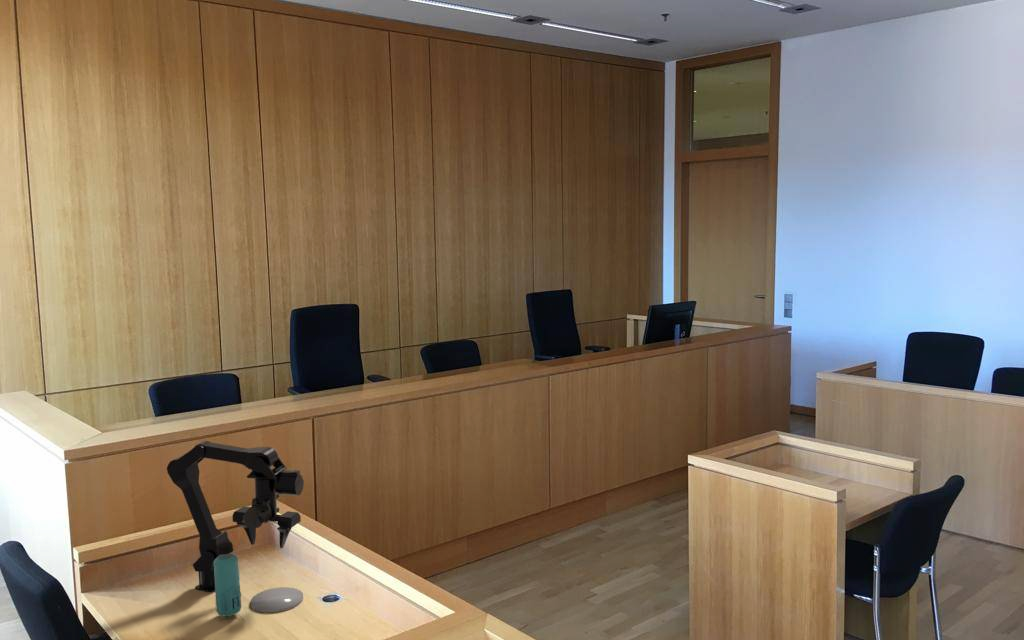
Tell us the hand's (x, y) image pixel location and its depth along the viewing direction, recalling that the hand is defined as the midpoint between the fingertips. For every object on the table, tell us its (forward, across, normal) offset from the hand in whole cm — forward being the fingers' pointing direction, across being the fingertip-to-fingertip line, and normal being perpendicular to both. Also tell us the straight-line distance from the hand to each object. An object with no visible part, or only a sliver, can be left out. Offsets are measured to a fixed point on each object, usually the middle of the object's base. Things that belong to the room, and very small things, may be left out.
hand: (267, 546), depth 235 cm
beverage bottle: (+13, -2, -17) cm, 21 cm away
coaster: (+13, +6, -6) cm, 15 cm away
